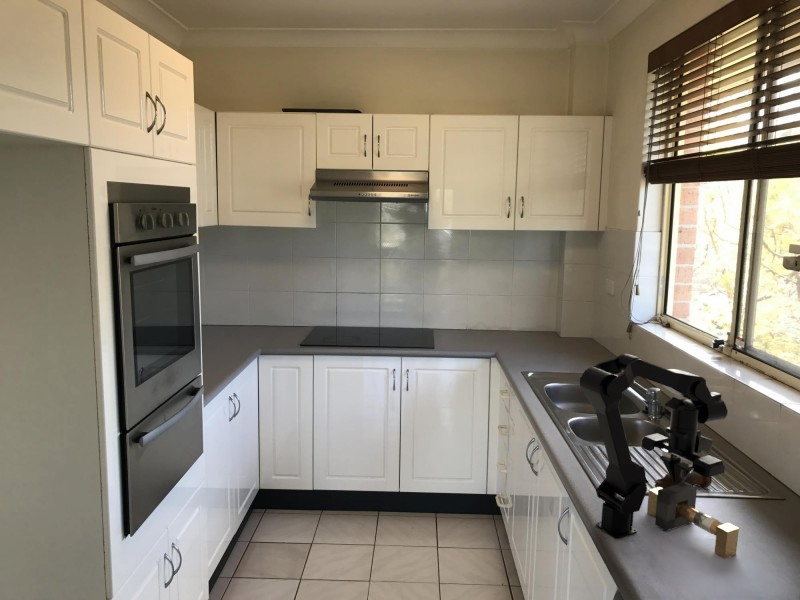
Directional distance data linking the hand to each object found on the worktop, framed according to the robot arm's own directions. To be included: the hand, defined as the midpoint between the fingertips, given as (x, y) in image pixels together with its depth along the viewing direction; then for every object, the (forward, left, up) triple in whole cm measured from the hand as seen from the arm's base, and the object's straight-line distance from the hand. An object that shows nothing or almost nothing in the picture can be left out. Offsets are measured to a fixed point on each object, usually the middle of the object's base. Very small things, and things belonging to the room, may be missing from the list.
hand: (677, 488), depth 143 cm
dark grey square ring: (-4, -3, -7) cm, 8 cm away
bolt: (+13, +9, -8) cm, 18 cm away
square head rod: (-4, -7, -7) cm, 10 cm away
